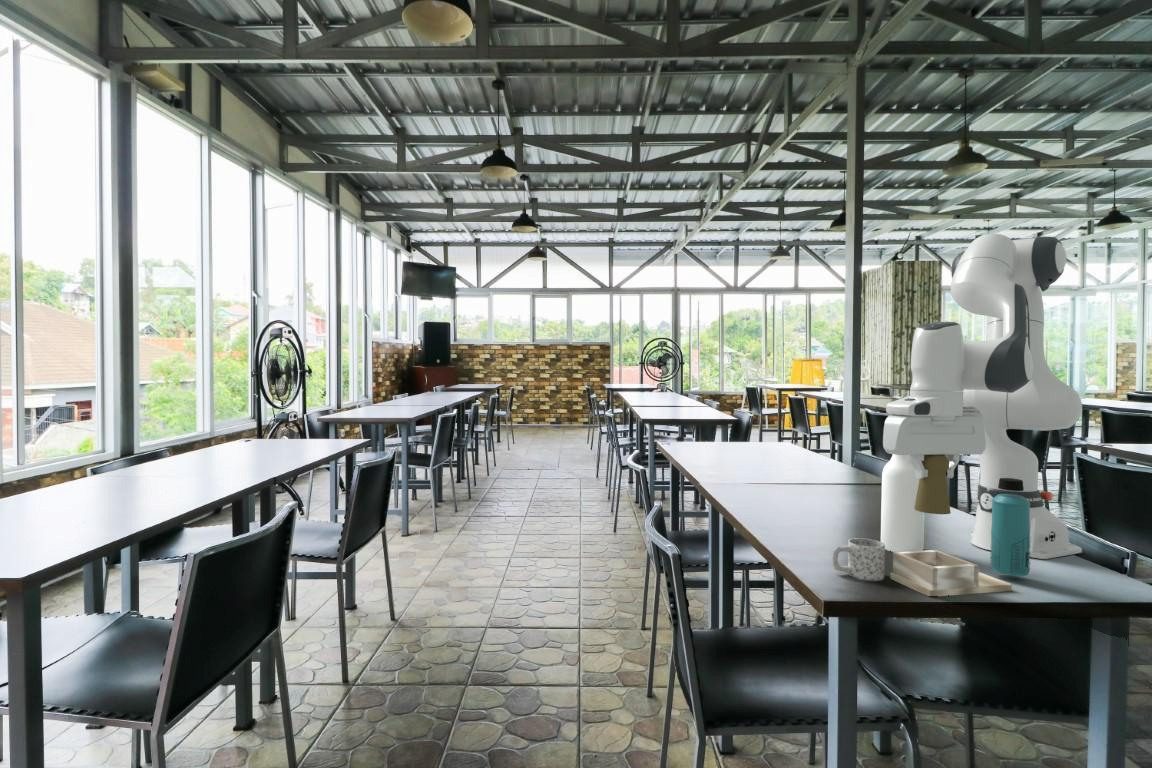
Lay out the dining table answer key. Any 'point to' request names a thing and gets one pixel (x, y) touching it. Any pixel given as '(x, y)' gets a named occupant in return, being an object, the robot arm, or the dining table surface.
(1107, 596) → the dining table surface
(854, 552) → the mug
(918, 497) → the cork
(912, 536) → the alcohol
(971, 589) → the open box
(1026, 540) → the beverage bottle
